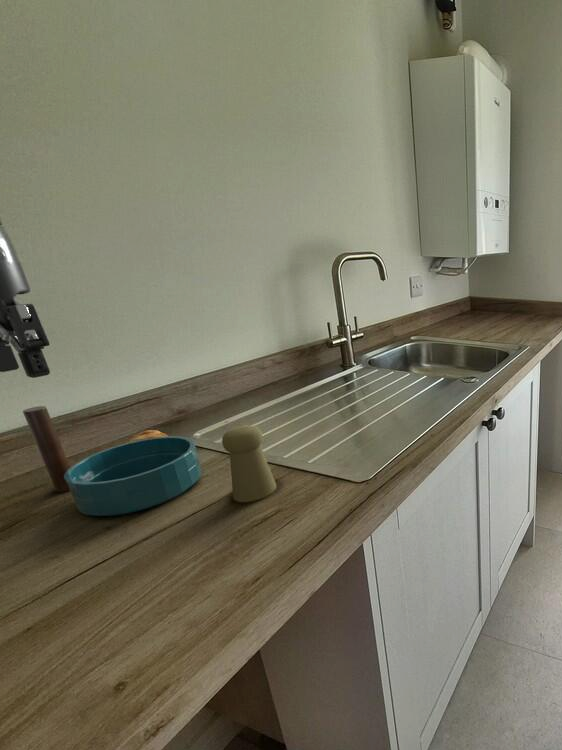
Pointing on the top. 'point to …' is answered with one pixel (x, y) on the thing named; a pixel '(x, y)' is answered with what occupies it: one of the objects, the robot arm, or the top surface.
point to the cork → (248, 464)
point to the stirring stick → (48, 445)
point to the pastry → (147, 435)
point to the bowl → (133, 476)
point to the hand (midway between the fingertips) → (23, 373)
